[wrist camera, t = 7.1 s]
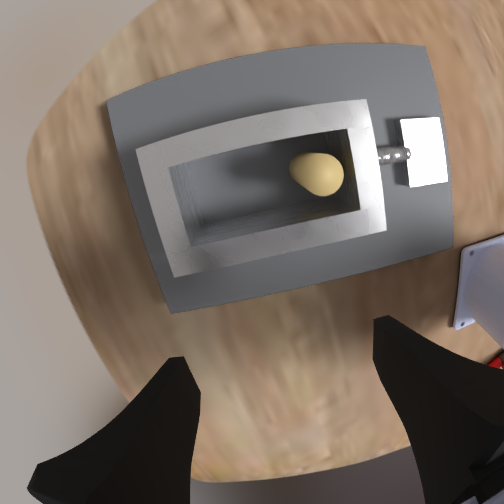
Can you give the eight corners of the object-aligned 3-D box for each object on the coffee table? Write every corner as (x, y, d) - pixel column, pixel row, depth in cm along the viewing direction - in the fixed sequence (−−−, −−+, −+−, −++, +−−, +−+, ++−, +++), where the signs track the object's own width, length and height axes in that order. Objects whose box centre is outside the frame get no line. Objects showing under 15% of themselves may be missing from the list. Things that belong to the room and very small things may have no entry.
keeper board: (414, 51, 14) (460, 31, 9) (441, 240, 19) (486, 269, 13) (116, 103, 15) (70, 91, 10) (175, 302, 20) (155, 351, 15)
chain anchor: (432, 118, 14) (440, 117, 13) (440, 179, 16) (449, 181, 15) (362, 123, 14) (369, 122, 14) (374, 190, 16) (381, 193, 15)
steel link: (338, 109, 14) (366, 98, 10) (357, 211, 16) (386, 230, 12) (161, 148, 15) (135, 149, 11) (189, 248, 17) (174, 277, 13)
